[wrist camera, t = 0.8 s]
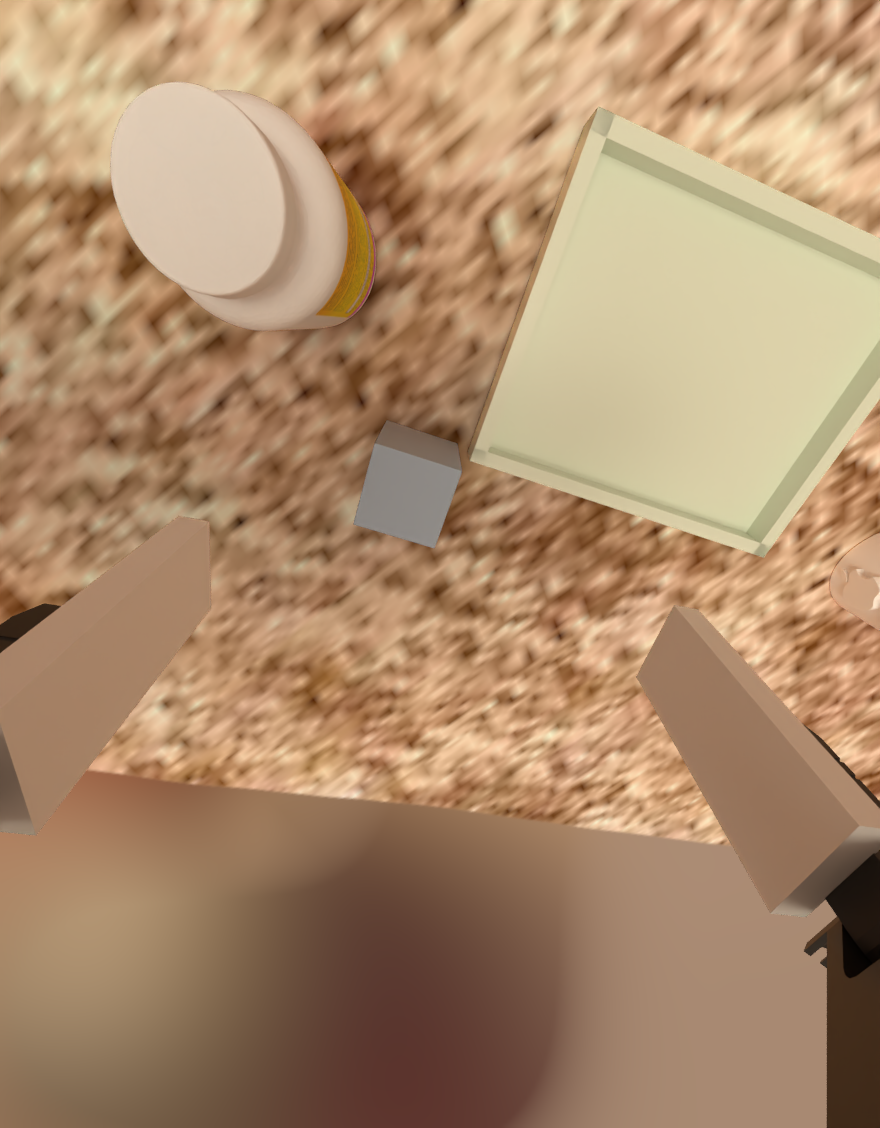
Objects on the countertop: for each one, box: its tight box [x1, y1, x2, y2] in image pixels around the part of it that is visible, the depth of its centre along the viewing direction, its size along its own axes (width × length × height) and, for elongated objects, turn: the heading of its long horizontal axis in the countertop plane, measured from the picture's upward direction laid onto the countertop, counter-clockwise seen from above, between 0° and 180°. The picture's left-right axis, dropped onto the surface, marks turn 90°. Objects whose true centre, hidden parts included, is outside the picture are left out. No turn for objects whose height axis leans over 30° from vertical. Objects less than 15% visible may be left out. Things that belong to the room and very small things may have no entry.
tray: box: [468, 106, 880, 557], centre depth 26 cm, size 20×16×2 cm
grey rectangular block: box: [353, 420, 462, 548], centre depth 26 cm, size 4×4×6 cm
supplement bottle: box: [110, 82, 376, 331], centre depth 18 cm, size 7×7×13 cm
